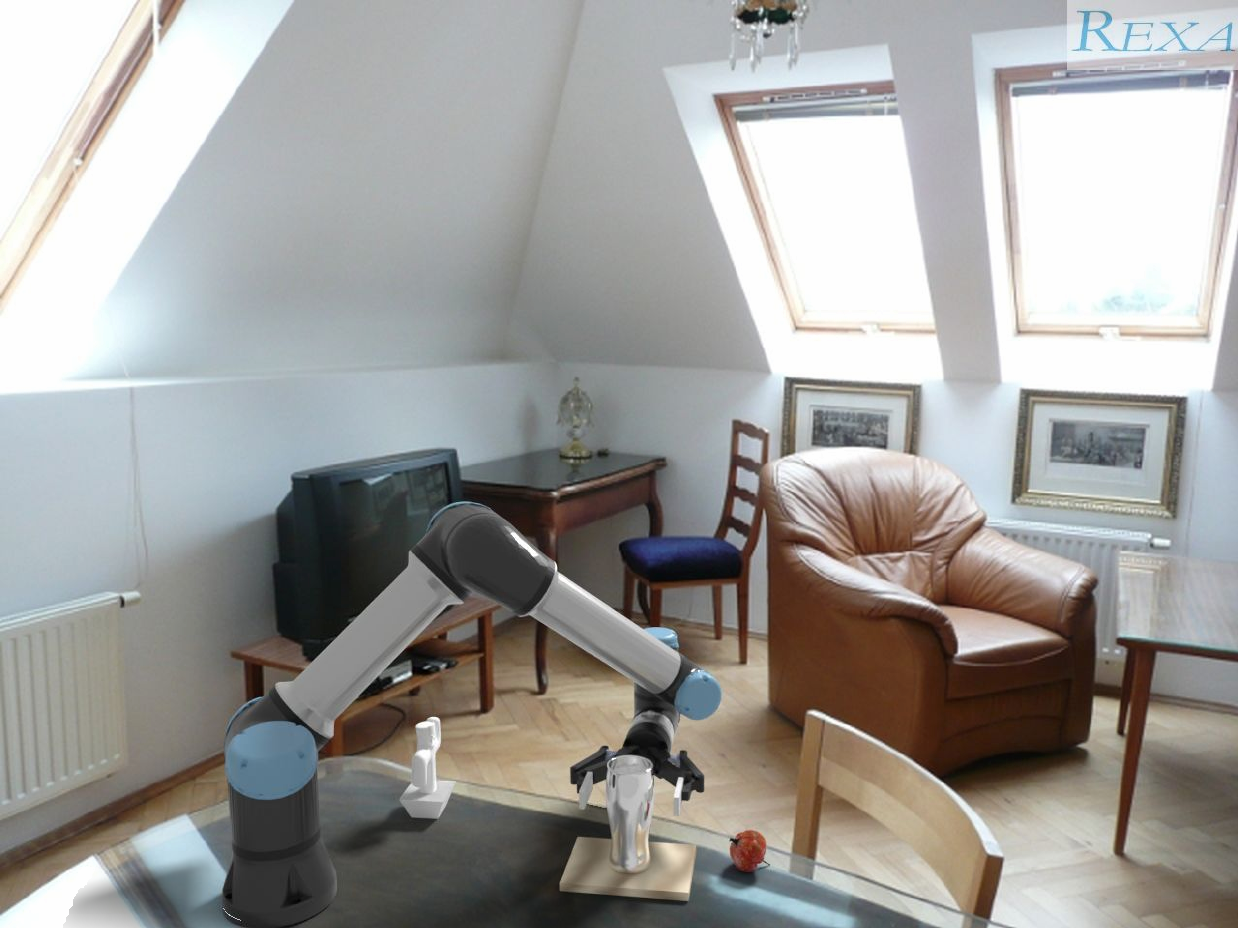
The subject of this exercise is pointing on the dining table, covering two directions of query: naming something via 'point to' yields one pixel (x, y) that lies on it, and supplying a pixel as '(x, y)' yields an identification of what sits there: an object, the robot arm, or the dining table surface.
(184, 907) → the dining table surface
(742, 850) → the pomegranate
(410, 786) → the figurine
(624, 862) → the beer glass
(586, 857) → the birch board
